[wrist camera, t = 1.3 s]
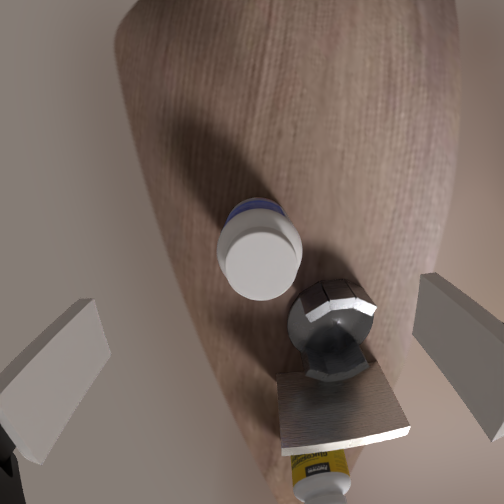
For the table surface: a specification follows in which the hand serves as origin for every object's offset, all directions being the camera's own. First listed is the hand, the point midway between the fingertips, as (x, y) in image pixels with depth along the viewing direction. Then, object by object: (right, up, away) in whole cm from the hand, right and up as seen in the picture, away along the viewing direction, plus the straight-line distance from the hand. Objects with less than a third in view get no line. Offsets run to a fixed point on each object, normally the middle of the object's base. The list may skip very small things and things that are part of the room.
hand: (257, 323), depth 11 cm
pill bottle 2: (+8, -21, +22) cm, 32 cm away
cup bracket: (+7, -5, +17) cm, 20 cm away
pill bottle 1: (0, +5, +15) cm, 16 cm away
